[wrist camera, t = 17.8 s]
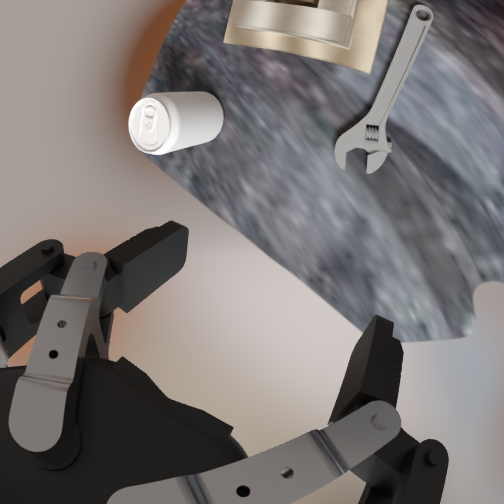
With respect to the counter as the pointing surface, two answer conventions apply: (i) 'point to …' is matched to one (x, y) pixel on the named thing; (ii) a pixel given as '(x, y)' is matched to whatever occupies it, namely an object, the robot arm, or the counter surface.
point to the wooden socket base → (311, 29)
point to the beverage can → (174, 121)
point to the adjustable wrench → (385, 98)
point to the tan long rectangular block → (304, 3)
